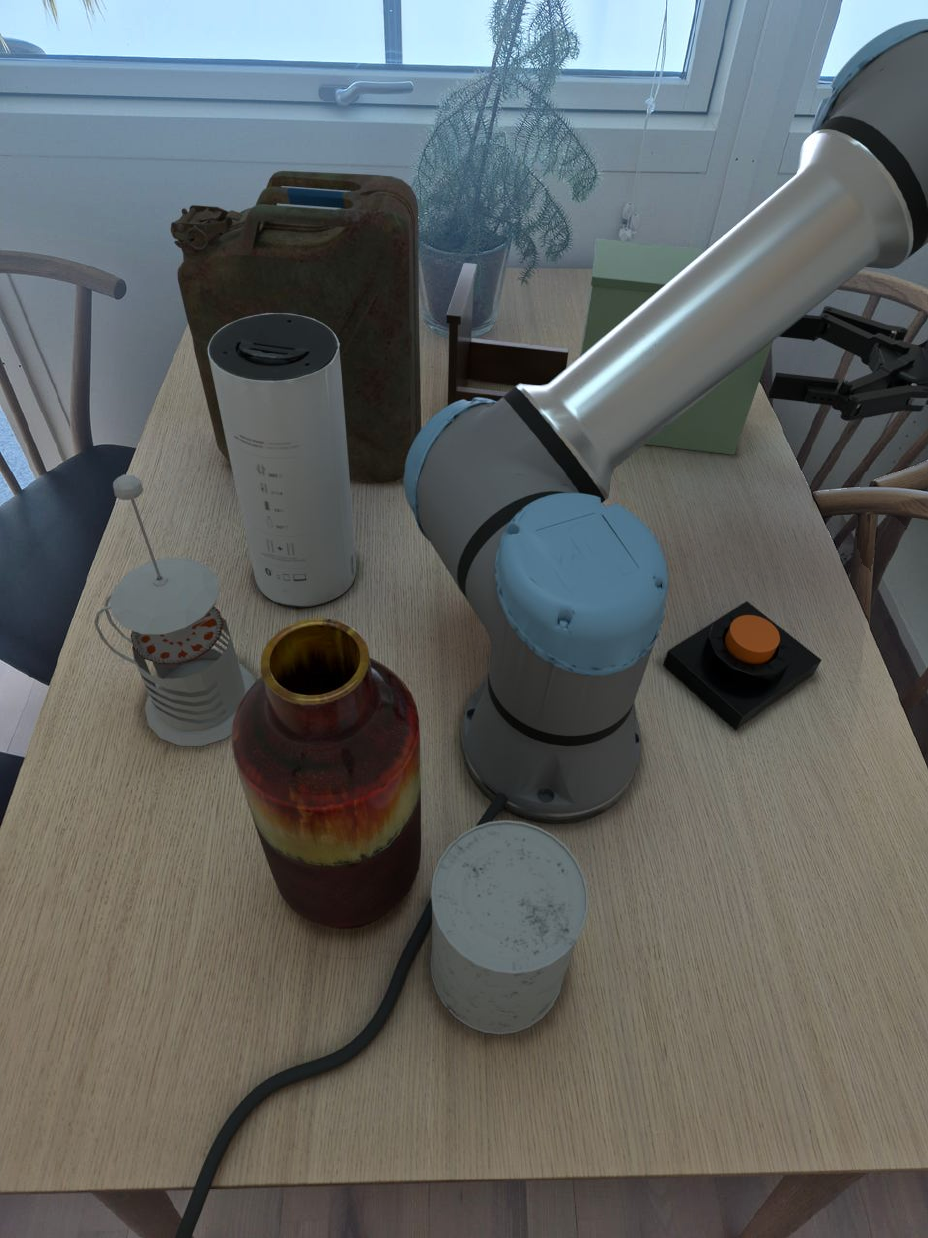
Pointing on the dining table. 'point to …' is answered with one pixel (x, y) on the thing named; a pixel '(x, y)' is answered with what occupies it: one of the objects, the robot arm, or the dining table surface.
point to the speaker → (288, 453)
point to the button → (752, 639)
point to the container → (320, 294)
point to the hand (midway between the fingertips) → (766, 352)
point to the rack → (491, 352)
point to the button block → (738, 670)
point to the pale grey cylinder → (504, 924)
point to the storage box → (623, 287)
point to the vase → (332, 774)
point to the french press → (178, 642)
